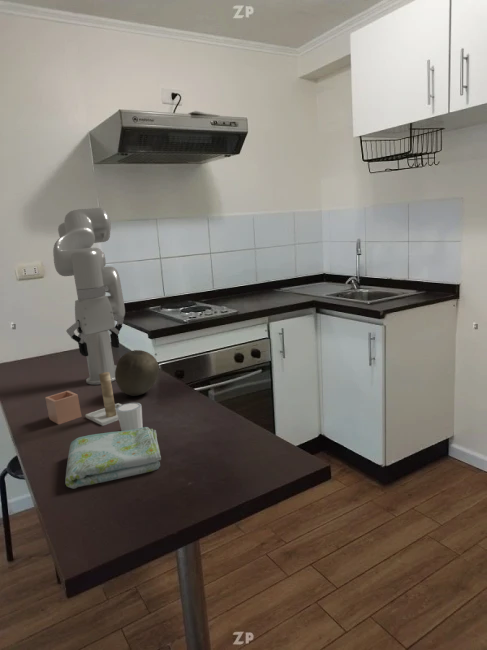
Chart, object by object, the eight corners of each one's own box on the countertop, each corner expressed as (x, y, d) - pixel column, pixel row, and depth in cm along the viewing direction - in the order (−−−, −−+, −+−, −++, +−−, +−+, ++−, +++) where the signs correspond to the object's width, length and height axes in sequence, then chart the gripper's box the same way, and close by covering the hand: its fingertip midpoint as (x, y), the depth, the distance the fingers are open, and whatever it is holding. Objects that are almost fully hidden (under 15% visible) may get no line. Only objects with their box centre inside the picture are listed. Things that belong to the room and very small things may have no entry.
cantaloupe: (130, 404, 153) (123, 359, 150) (112, 395, 164) (105, 353, 161) (169, 392, 161) (163, 349, 158) (148, 384, 172) (143, 344, 169)
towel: (165, 470, 108) (162, 449, 107) (66, 492, 103) (62, 471, 102) (157, 439, 125) (154, 421, 124) (72, 457, 120) (68, 438, 119)
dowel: (113, 412, 146) (106, 371, 143) (118, 414, 143) (111, 373, 141) (104, 415, 144) (97, 374, 141) (109, 417, 141) (102, 375, 139)
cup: (72, 413, 150) (68, 390, 149) (82, 418, 145) (77, 394, 144) (49, 421, 146) (45, 397, 144) (58, 426, 140) (54, 401, 139)
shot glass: (149, 426, 134) (146, 402, 132) (136, 436, 127) (132, 412, 126) (128, 425, 136) (124, 401, 135) (114, 435, 130) (110, 411, 128)
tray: (119, 407, 151) (118, 403, 151) (137, 415, 143) (136, 410, 143) (86, 419, 144) (85, 414, 144) (103, 427, 136) (102, 422, 136)
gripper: (112, 287, 145) (120, 342, 149) (56, 298, 134) (66, 357, 137) (124, 289, 139) (133, 345, 143) (67, 300, 128) (77, 361, 132)
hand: (100, 351), depth 140 cm, fingers open, 9 cm apart
